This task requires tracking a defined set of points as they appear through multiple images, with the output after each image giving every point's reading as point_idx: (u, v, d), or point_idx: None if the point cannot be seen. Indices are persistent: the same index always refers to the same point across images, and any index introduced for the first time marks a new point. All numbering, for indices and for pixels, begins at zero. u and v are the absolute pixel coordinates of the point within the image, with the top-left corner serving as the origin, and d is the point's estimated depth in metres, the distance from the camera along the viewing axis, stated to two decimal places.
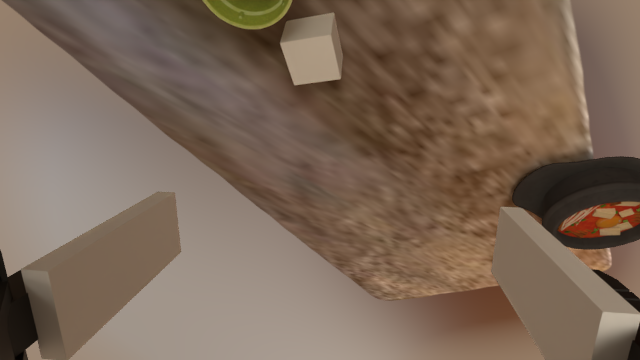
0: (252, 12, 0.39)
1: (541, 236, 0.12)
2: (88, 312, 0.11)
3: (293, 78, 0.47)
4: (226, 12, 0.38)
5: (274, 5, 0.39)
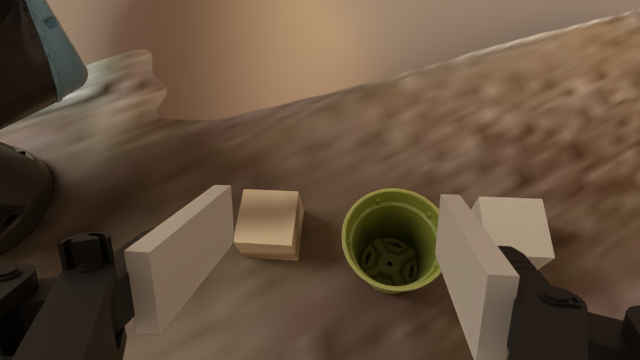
0: None
1: (465, 218, 0.13)
2: (174, 292, 0.12)
3: (542, 255, 0.35)
4: (428, 276, 0.32)
5: (433, 232, 0.35)
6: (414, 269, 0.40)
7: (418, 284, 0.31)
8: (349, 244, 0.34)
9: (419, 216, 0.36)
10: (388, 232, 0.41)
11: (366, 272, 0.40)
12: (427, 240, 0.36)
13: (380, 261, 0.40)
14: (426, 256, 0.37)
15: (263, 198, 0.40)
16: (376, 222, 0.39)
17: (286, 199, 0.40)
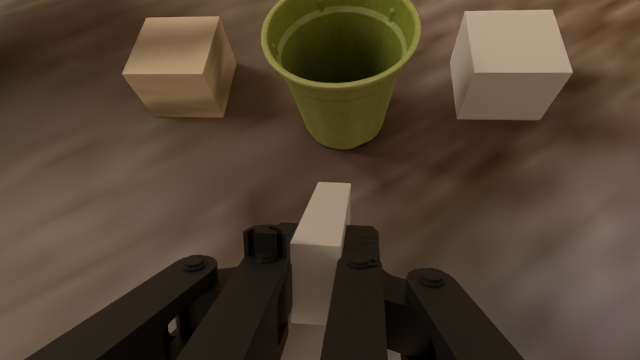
0: None
1: (338, 201, 0.15)
2: None
3: (555, 70, 0.24)
4: None
5: (398, 39, 0.24)
6: None
7: (369, 78, 0.20)
8: (276, 53, 0.24)
9: (380, 22, 0.25)
10: (343, 76, 0.30)
11: None
12: (391, 61, 0.26)
13: None
14: None
15: (170, 25, 0.29)
16: (324, 49, 0.28)
17: (202, 25, 0.29)
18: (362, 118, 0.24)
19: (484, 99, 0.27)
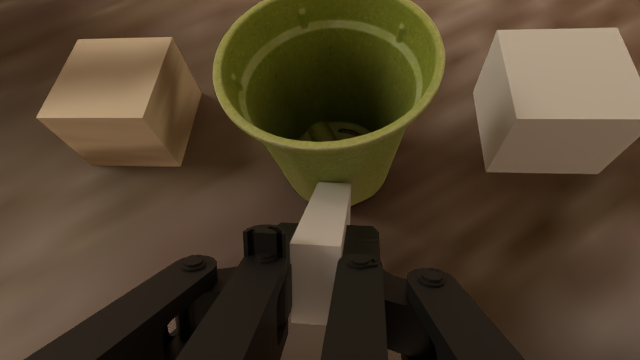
0: None
1: (338, 201, 0.15)
2: None
3: (632, 115, 0.17)
4: None
5: (409, 67, 0.17)
6: None
7: (368, 135, 0.13)
8: (239, 88, 0.17)
9: (384, 42, 0.18)
10: (336, 108, 0.23)
11: None
12: (400, 95, 0.19)
13: None
14: None
15: (108, 50, 0.22)
16: (310, 76, 0.21)
17: (149, 48, 0.22)
18: (360, 177, 0.17)
19: (526, 150, 0.20)
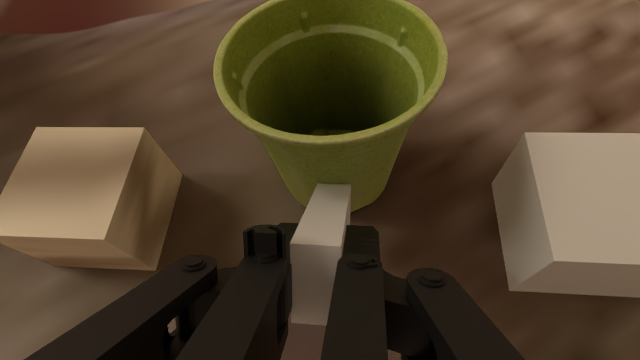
0: None
1: (338, 201, 0.15)
2: None
3: None
4: None
5: (411, 70, 0.17)
6: None
7: (370, 129, 0.13)
8: (239, 87, 0.17)
9: (386, 46, 0.18)
10: (335, 115, 0.23)
11: None
12: (401, 99, 0.19)
13: None
14: None
15: (69, 143, 0.19)
16: (310, 81, 0.21)
17: (116, 142, 0.19)
18: (360, 179, 0.17)
19: (560, 280, 0.16)
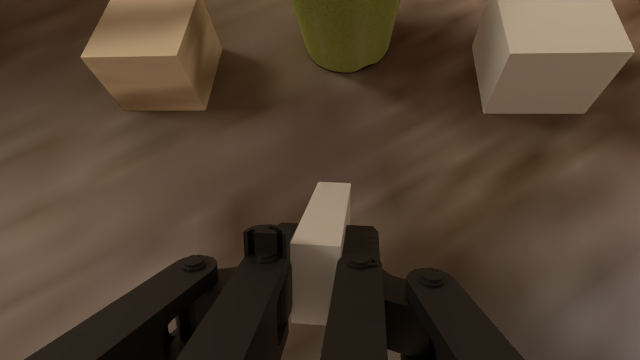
0: None
1: (338, 201, 0.15)
2: None
3: (612, 49, 0.19)
4: None
5: None
6: None
7: None
8: None
9: None
10: None
11: None
12: None
13: None
14: None
15: (141, 2, 0.25)
16: None
17: (179, 0, 0.24)
18: (367, 26, 0.23)
19: (519, 87, 0.22)
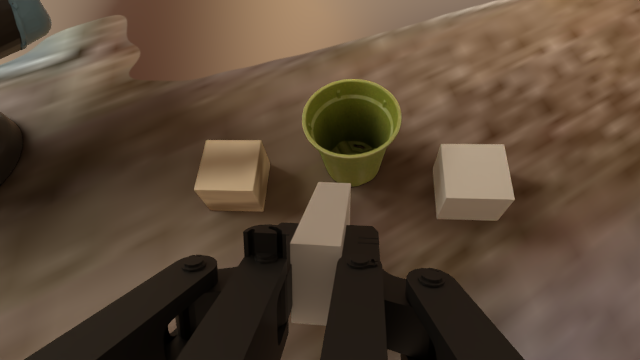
0: (390, 138, 0.36)
1: (338, 201, 0.15)
2: None
3: (502, 197, 0.34)
4: None
5: (388, 119, 0.38)
6: None
7: (368, 152, 0.34)
8: (310, 129, 0.37)
9: (377, 106, 0.39)
10: (352, 134, 0.44)
11: None
12: (384, 130, 0.39)
13: None
14: None
15: (225, 148, 0.40)
16: (340, 119, 0.41)
17: (249, 147, 0.40)
18: (365, 169, 0.38)
19: (455, 210, 0.37)
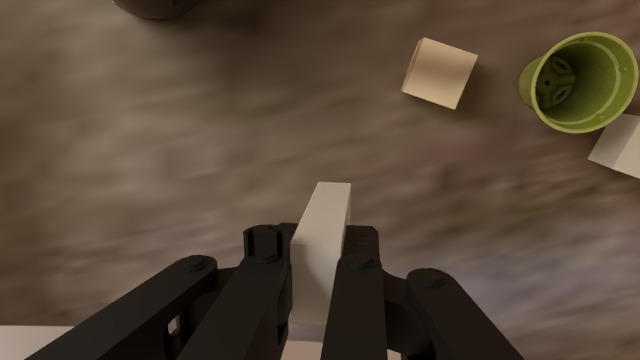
0: (603, 107, 0.38)
1: (338, 201, 0.15)
2: None
3: None
4: (588, 124, 0.38)
5: (614, 83, 0.38)
6: (565, 94, 0.44)
7: (578, 130, 0.37)
8: None
9: (612, 64, 0.37)
10: (563, 54, 0.42)
11: None
12: (600, 84, 0.40)
13: (539, 77, 0.44)
14: (588, 94, 0.41)
15: (441, 53, 0.41)
16: (564, 49, 0.40)
17: (463, 60, 0.41)
18: None
19: None
